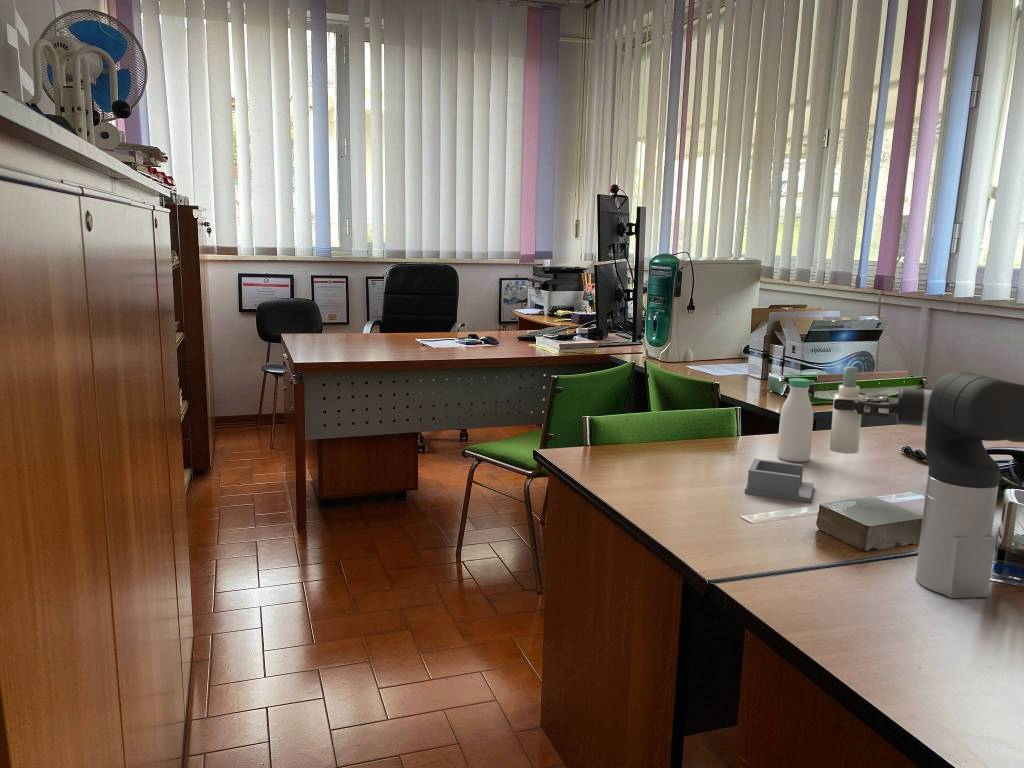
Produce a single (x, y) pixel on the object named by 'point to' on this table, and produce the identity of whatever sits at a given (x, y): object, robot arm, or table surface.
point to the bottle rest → (778, 481)
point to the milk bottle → (796, 423)
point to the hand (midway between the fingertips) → (834, 401)
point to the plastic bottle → (846, 416)
